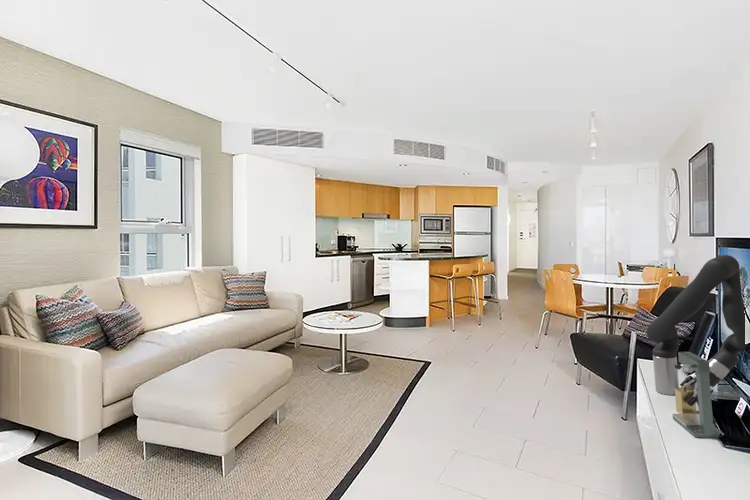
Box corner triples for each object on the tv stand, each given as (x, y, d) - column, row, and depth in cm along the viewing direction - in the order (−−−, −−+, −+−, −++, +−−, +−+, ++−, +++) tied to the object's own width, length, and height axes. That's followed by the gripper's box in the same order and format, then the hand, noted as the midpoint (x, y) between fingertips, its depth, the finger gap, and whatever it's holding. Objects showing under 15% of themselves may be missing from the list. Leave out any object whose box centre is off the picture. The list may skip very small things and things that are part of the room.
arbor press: (662, 418, 168) (656, 350, 167) (699, 418, 165) (693, 349, 164) (683, 437, 152) (677, 362, 152) (724, 437, 149) (718, 361, 149)
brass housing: (676, 411, 173) (674, 385, 173) (689, 411, 172) (687, 385, 172) (682, 416, 168) (680, 389, 168) (696, 416, 167) (694, 389, 167)
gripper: (694, 361, 175) (666, 388, 178) (714, 371, 161) (684, 400, 164) (709, 373, 174) (681, 400, 177) (731, 384, 160) (700, 414, 163)
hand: (682, 400), depth 170 cm, fingers open, 8 cm apart
